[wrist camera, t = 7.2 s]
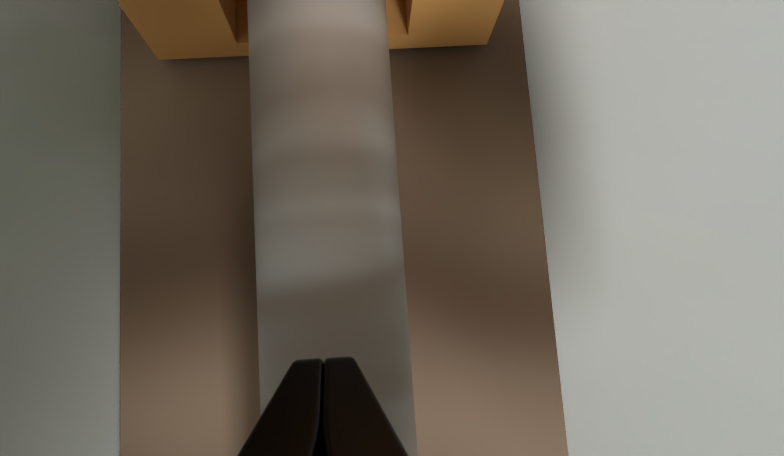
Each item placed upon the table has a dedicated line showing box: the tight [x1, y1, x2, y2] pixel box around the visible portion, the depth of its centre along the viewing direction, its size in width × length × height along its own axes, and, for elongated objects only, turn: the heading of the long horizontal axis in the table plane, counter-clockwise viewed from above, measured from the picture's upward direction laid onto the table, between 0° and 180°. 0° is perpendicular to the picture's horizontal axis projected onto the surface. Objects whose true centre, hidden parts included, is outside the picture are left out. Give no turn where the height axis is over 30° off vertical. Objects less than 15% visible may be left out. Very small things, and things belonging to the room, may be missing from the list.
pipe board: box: [120, 0, 568, 456], centre depth 14 cm, size 24×10×6 cm, turn 4°
